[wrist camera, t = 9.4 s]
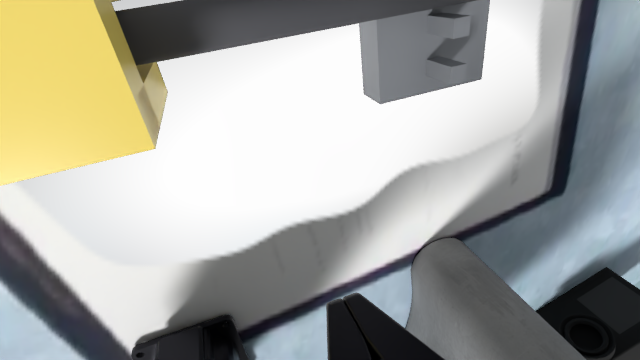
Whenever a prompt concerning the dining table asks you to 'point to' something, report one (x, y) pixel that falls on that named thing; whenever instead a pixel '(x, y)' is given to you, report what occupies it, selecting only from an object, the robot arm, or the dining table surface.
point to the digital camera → (599, 317)
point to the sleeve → (71, 89)
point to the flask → (475, 310)
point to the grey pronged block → (423, 50)
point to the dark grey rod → (245, 22)
